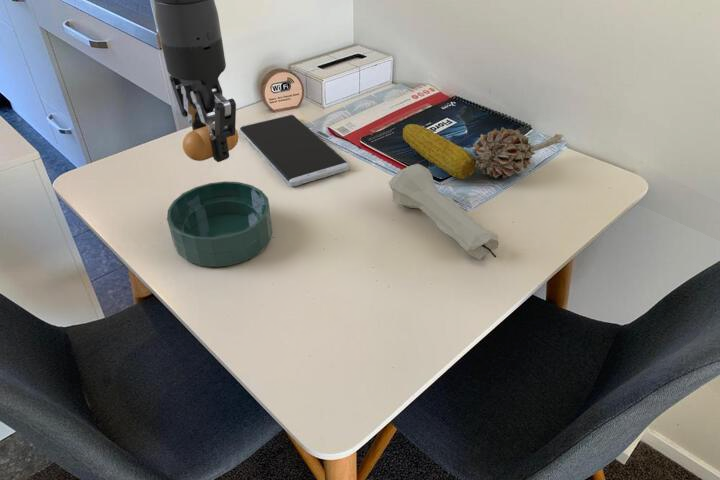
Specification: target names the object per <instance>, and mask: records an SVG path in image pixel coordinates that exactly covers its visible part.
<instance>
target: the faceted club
mask: <svg viewBox="0 0 720 480" xmlns="http://www.w3.org/2000/svg"><path fill="white" fill-rule="evenodd" d="M388 186H389V188H390V189H391V191H392V202H395V203H397V204H399V205H402V206H404V207H407V208H409V209H420V210H421V211H422V212H423V213H424V214H425V215H426V216H427V217H429V218H430V219H431V220H432V221H433V222H435V225H436V227H437V229H439V230H440V231H442V232H444V233H445V234H446V235H448V236H449V237H451V238H453V240H455V241H456V242H457V243H458V244H459V245H460V246H461V248H462V249H463V250H464V251H465V252H466V253H467V254H469V255H470V256H471V257H472V258H473V259H475V260H476V261H480V260H482V259H483V258H484V257H485V255H487V254H489V253H490V254H491V256H493V258H494V259H496V258H497V255H496V254H495V253H494V252H493V251H494V250H497V249H499V243H500V239H499V235H498V234H496V233H495V232H492V231H491V230H490V229H488V228H486V227H485V226H484V225H481V224H480V223H478V222H477V221H476V220H474V219H473V218H472V217H471V216H470V215H468V213H466V212H465V210H463V208H461V207H460V206H459V205H458V204H457V203H456V201H454V200H453V198H452V197H451V196H448V195H445V194H442V193H441V192H440V191H438V189H437V187H436V185H435V182H434V178H433V174H432V173H431V171H430V169H429V168H427V167H425V166H424V165H422V164H420V163H415V164H411V165H409V166H406V167H405V168H403V169H400V170H399V171H398V172H397V173H395V175H393V176H392V177H391V179H390V180H389V181H388Z"/></svg>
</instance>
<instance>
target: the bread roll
mask: <svg viewBox="0 0 720 480" xmlns="http://www.w3.org/2000/svg"><path fill="white" fill-rule="evenodd" d="M213 127H214V130H215V122H213ZM238 142H239V133H238V130H237V128H236V127H235V135H233V136H230V137H227V144H228V150H229V152H230V151H232V150H233V149H234V148H235V147H236V146H237V145H238ZM182 149H183V152H184V154H185V155H186V156H187V157H188V159H189V158H190V159H191V160H193V161H196V162H197V161H198V162H203V161H206V160H209V159H212V158H213V153H212V147H211V142H210V136H209V133H208V130H207V127H206V126H205V127H202V128H199V129H196V130H193V129H192V130H191V131H189V132H188V133H186V135H185V136H184V137H183V140H182Z"/></svg>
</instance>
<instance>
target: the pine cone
mask: <svg viewBox="0 0 720 480" xmlns="http://www.w3.org/2000/svg"><path fill="white" fill-rule="evenodd" d="M479 136H480V138H479V139H476V141H477V142H475V143H472V146H473V147H474V148H473V149H471V150H470V152H471V153H472V154H474V156H473V158H474V161H475V163H476V164H475V168H478V169H479V172H482V174H483V175H489V177H491V178H493V177H494V178H495V179H498V178H499V176H502V179H506V178H507V177H512V175H513V176H514V175H515V174H521V170H522V169H525V170H527V169H528V166H531V165H532V163H531V159H533V155H536V151H540V150H543V149H545V148H548V147H550V146H553V145H555V144H563V140H562V138H563V133H559V134H557V133H555V134H554V136H552V137H550V138H548V139H546V140H544V141H542V142H540V143H539V142H538V143H536V144H533V145H532V142H529V137H528V136H526V135H525V134H521V132H520V131H519V129H516V130H514V129H512V128H507V129H506V128H505V127H504V126H502V127H501V129H500V130H498V128H494V129H493V130H491V131H489V132H487V134H483V133H481V134H480V135H479Z"/></svg>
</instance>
